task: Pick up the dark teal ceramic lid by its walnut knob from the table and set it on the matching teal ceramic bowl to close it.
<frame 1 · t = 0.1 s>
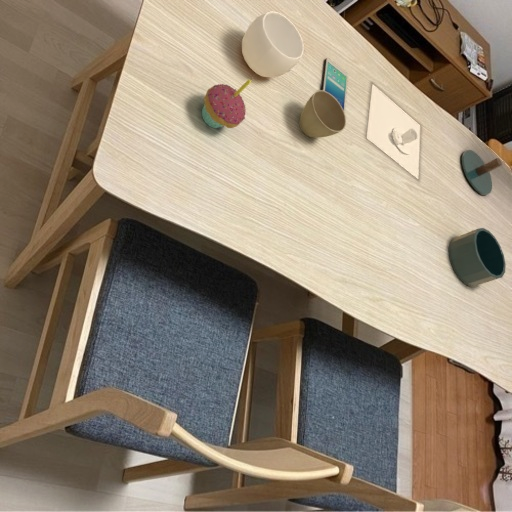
cup 2: (254, 62, 124), on the table
flower pot: (306, 127, 128), on the table
cupcake: (211, 118, 110), on the table
bowl: (464, 262, 152), on the table
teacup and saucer: (394, 131, 151), on the table
smartphone: (332, 88, 139), on the table
lid: (476, 172, 172), point 1 cm above the table
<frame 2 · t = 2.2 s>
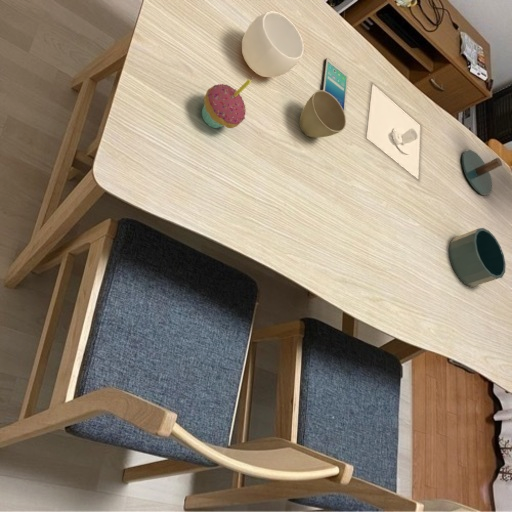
nothing on the table moved.
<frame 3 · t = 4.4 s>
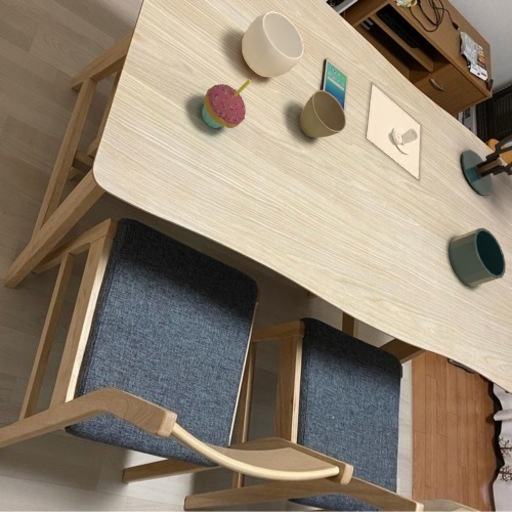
hand: (480, 170, 171), 2 cm above the table, tool pointing down, fingers closed on lid, 3 cm apart
lid: (476, 172, 172), point 1 cm above the table, touching gripper
everything else where it was.
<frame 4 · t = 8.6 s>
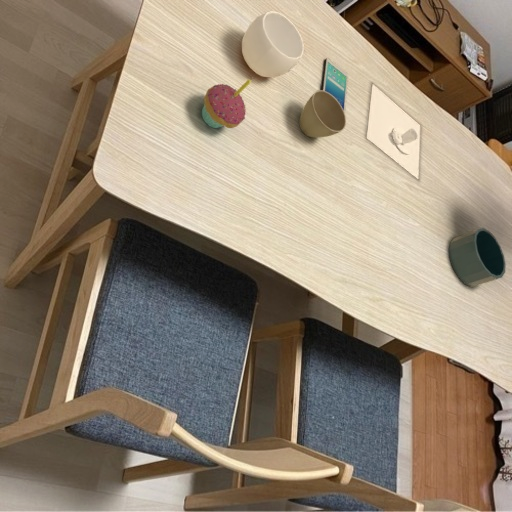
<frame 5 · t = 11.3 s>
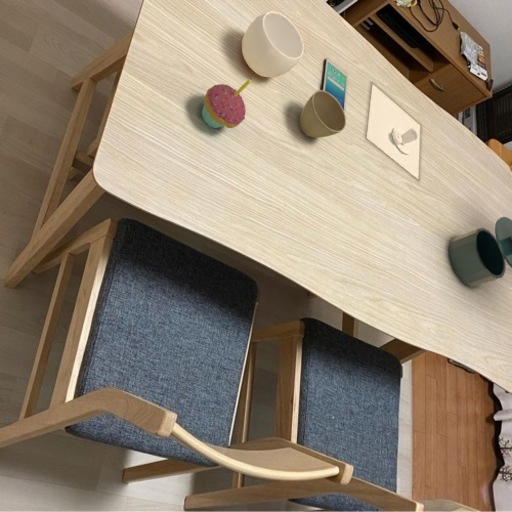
lid: (511, 244, 142), point 13 cm above the table, touching gripper
everything else where it was.
when the fingers open (9 cm above the table, at t = 12.9 s): lid stays where it is, resting on bowl.
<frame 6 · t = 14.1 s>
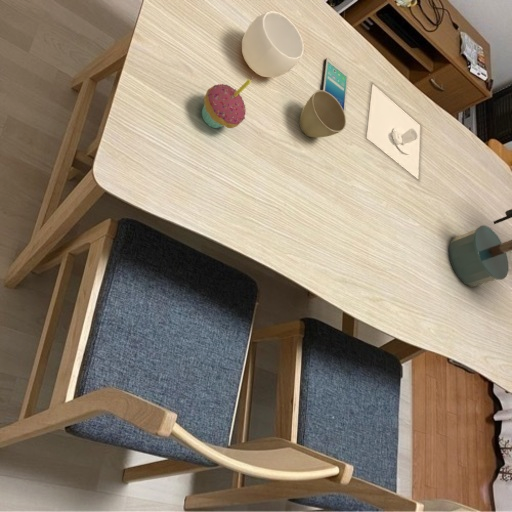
hand: (507, 247, 143), 12 cm above the table, tool pointing down, fingers open, 13 cm apart
lid: (490, 252, 146), point 7 cm above the table, touching bowl
everything else where it was.
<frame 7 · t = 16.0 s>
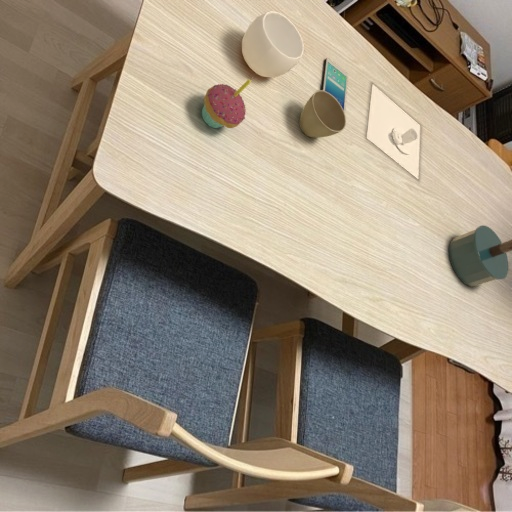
nothing on the table moved.
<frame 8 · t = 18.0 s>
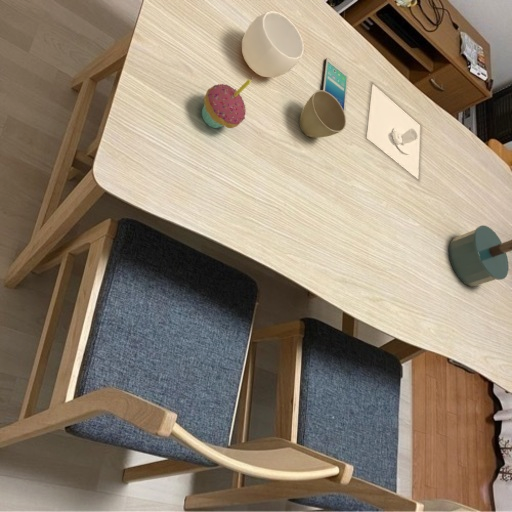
nothing on the table moved.
at the end: lid 0.0 cm off-centre on the bowl, point 7.5 cm above the bowl's base; lid tilted 0°; the gripper is holding nothing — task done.
